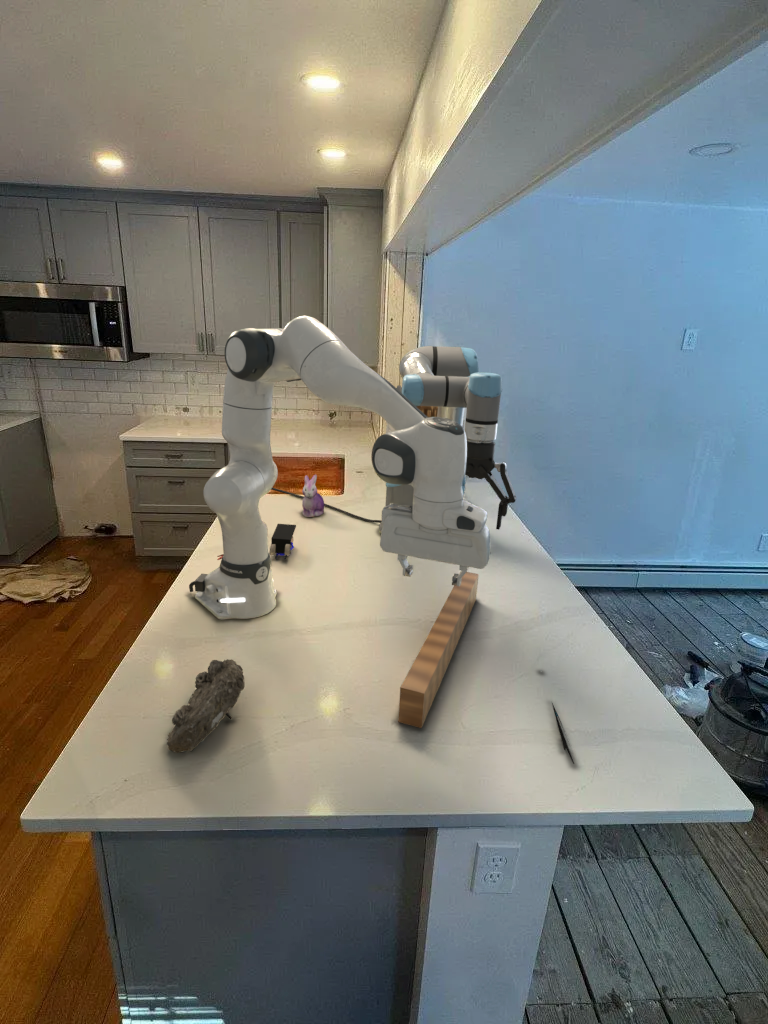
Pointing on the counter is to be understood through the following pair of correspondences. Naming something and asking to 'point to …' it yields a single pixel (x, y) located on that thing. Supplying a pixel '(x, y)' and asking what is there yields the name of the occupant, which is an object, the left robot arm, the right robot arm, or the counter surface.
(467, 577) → the post
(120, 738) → the counter surface
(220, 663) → the fossil
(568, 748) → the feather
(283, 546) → the figurine character
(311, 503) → the figurine
